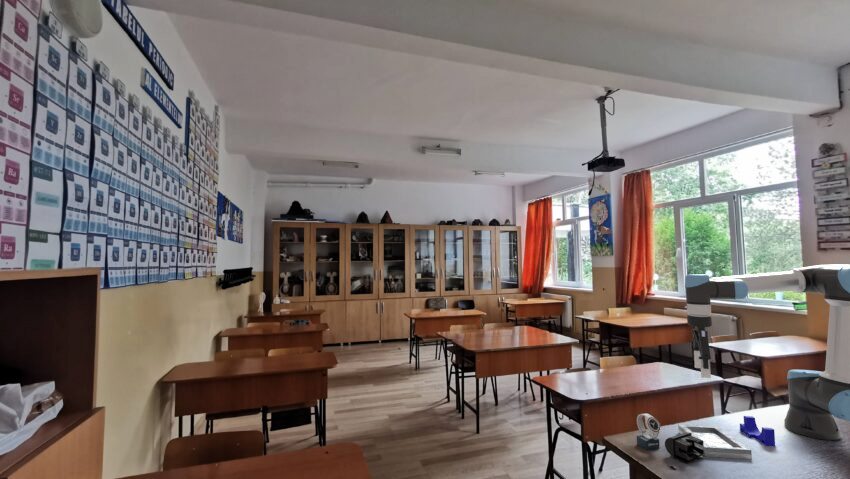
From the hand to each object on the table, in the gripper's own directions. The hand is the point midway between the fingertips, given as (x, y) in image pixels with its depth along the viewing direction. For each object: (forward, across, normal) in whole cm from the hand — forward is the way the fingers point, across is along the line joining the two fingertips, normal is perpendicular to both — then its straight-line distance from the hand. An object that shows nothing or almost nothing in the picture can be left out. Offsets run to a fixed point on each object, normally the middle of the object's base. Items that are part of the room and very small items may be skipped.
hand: (702, 372), depth 143 cm
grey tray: (+24, +4, +1) cm, 25 cm away
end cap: (+24, +18, -9) cm, 32 cm away
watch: (+24, +16, -19) cm, 35 cm away
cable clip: (+25, -9, +17) cm, 31 cm away
